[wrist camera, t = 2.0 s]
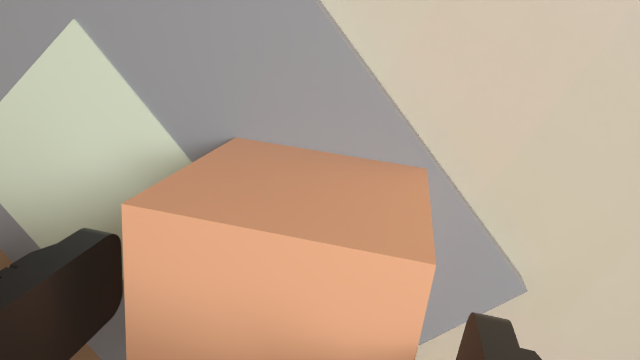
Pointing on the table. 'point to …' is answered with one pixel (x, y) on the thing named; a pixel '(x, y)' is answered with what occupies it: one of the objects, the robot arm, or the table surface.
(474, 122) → the table surface
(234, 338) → the cube
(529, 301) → the table surface
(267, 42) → the arena
